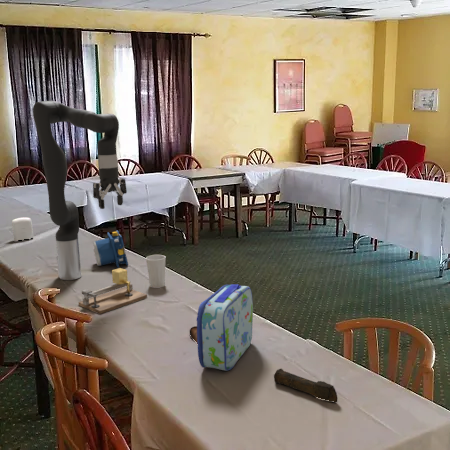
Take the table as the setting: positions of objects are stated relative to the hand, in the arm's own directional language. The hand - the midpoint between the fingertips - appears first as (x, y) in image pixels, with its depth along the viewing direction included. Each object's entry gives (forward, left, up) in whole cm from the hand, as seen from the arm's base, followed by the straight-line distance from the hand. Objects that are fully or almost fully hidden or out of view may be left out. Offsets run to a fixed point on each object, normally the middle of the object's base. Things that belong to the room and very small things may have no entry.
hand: (111, 206), depth 235 cm
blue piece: (-30, +19, -34) cm, 49 cm away
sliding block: (+10, -4, -32) cm, 34 cm away
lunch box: (+76, -16, -34) cm, 85 cm away
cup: (+10, +13, -34) cm, 38 cm away
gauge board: (+11, -10, -34) cm, 37 cm away
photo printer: (-105, +16, -34) cm, 112 cm away
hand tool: (+107, -18, -34) cm, 114 cm away
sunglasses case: (+65, -7, -35) cm, 74 cm away
